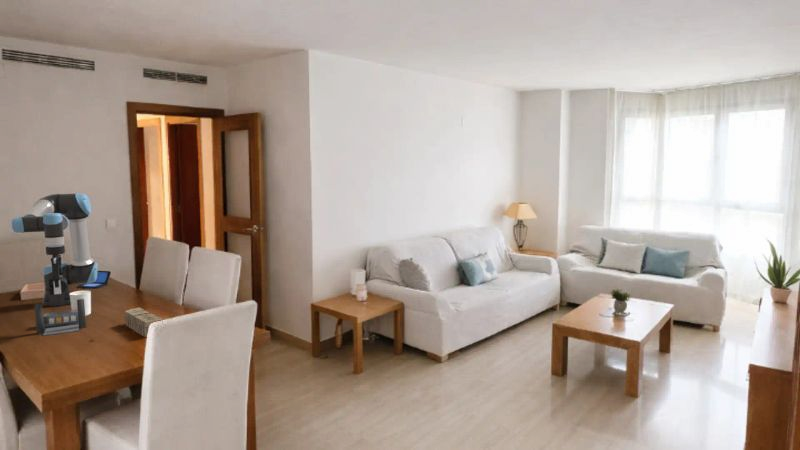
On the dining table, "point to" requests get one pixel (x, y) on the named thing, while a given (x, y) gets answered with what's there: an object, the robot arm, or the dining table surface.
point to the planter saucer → (33, 291)
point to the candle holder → (81, 295)
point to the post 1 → (39, 318)
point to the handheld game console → (98, 281)
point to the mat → (61, 329)
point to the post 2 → (81, 313)
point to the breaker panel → (60, 318)
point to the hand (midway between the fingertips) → (58, 291)
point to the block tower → (140, 320)
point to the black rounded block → (63, 285)
